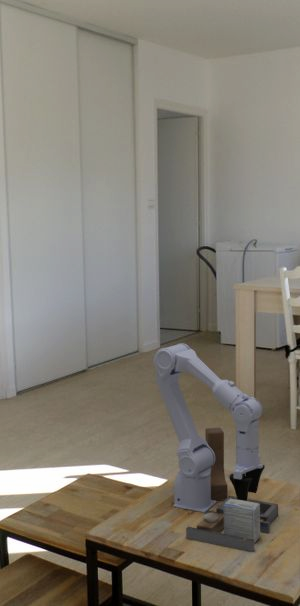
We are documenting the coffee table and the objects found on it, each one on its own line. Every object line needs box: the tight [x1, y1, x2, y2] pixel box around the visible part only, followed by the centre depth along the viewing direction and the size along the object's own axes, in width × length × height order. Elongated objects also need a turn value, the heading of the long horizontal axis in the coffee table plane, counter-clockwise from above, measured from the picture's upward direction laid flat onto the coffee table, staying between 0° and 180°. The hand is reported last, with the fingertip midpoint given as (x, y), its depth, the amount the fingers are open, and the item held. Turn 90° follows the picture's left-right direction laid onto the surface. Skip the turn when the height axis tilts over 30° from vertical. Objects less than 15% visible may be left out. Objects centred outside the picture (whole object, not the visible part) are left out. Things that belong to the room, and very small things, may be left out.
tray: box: [215, 495, 279, 525], centre depth 194 cm, size 13×9×3 cm
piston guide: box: [185, 510, 271, 553], centre depth 183 cm, size 17×13×3 cm
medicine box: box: [223, 499, 261, 544], centre depth 181 cm, size 8×4×9 cm, turn 63°
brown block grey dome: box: [196, 512, 224, 533], centre depth 185 cm, size 4×9×4 cm, turn 152°
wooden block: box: [204, 427, 228, 501], centre depth 208 cm, size 9×4×18 cm, turn 6°
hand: (247, 497), depth 193 cm, fingers open, 7 cm apart
